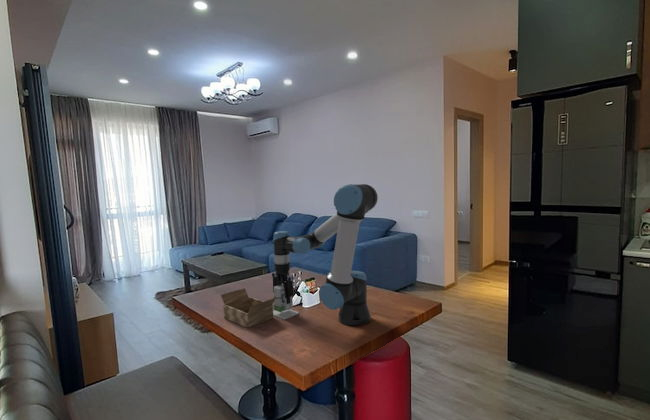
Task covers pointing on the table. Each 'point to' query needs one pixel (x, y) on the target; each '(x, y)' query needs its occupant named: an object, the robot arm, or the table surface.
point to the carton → (246, 308)
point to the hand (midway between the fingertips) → (283, 308)
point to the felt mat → (285, 314)
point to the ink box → (280, 298)
